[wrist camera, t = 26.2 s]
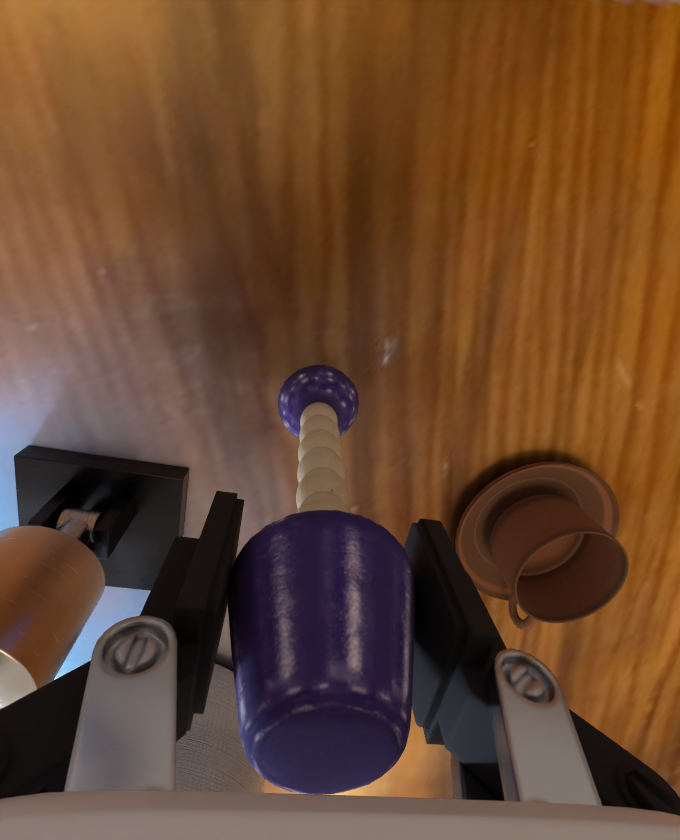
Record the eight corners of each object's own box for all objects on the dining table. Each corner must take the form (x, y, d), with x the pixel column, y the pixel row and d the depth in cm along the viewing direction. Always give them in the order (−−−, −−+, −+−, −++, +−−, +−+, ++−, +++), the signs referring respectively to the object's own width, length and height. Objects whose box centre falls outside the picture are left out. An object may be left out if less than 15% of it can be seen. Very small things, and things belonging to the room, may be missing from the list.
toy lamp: (348, 452, 24) (427, 830, 8) (264, 441, 23) (184, 829, 8) (365, 370, 22) (504, 656, 7) (275, 356, 21) (199, 636, 6)
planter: (299, 734, 40) (296, 1010, 25) (148, 787, 41) (63, 1079, 27) (215, 620, 34) (149, 897, 19) (41, 686, 35) (-144, 993, 21)
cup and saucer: (588, 574, 35) (643, 638, 29) (445, 590, 34) (473, 658, 29) (614, 443, 30) (686, 488, 25) (450, 459, 30) (484, 509, 24)
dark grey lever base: (28, 445, 27) (-66, 512, 20) (189, 468, 28) (152, 537, 22) (35, 562, 30) (-43, 654, 24) (179, 578, 32) (144, 668, 25)
